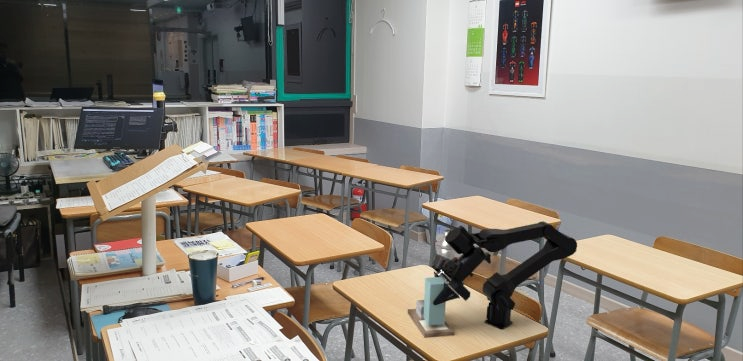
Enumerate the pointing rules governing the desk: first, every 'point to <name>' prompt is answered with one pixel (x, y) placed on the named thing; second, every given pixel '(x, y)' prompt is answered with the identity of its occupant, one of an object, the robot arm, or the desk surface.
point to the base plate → (422, 325)
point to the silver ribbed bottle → (446, 248)
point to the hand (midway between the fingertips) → (430, 300)
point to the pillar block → (431, 311)
